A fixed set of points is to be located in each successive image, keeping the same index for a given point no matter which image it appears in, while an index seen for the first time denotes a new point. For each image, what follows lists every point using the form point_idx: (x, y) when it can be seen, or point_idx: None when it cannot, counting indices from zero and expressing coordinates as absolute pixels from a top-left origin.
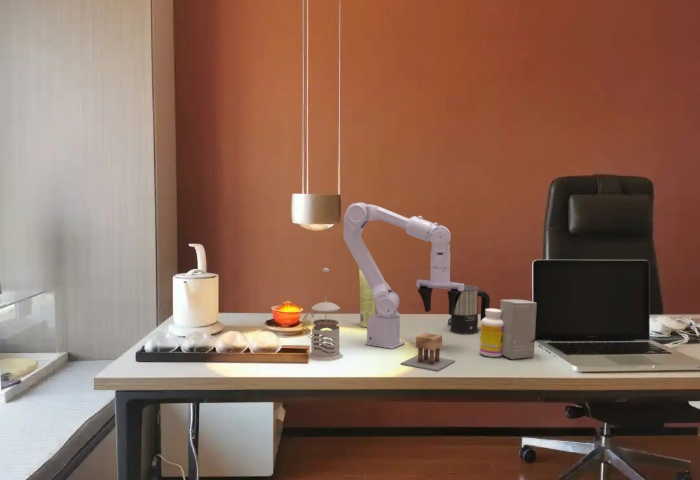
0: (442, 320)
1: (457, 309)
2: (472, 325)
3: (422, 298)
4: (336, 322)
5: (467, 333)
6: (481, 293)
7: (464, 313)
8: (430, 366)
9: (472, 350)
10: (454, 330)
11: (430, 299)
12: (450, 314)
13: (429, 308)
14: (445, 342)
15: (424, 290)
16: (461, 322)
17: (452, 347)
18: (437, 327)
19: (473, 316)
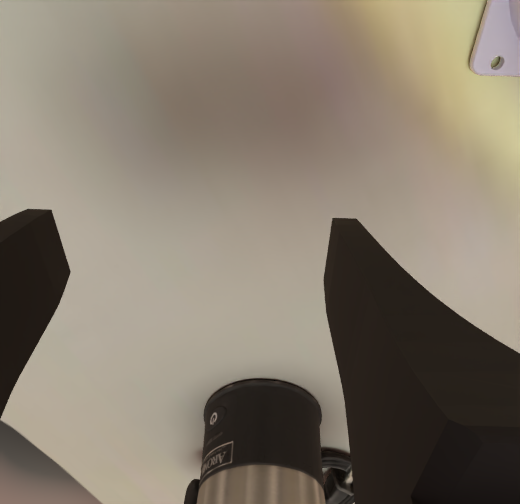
0: None
1: (271, 494)
2: (209, 431)
3: (446, 313)
4: None
5: (225, 388)
6: None
7: (233, 477)
8: None
9: (34, 155)
10: (285, 392)
11: (345, 393)
12: (29, 210)
13: (329, 282)
14: (247, 232)
15: (452, 437)
16: (250, 429)
17: (160, 156)
18: None
19: (202, 475)
